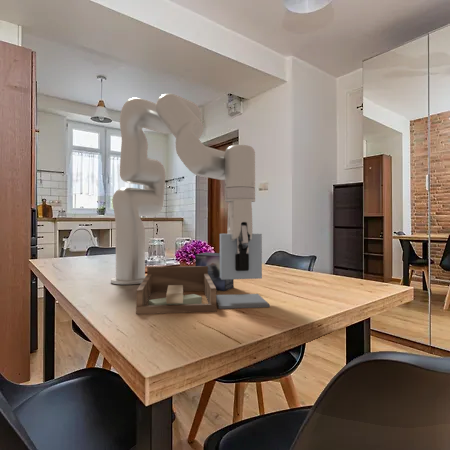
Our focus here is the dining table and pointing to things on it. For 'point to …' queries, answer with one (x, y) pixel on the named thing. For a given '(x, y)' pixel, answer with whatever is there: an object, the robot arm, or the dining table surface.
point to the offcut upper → (174, 294)
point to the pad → (240, 301)
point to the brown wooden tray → (180, 275)
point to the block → (228, 258)
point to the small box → (214, 270)
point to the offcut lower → (186, 300)
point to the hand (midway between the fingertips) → (240, 268)
